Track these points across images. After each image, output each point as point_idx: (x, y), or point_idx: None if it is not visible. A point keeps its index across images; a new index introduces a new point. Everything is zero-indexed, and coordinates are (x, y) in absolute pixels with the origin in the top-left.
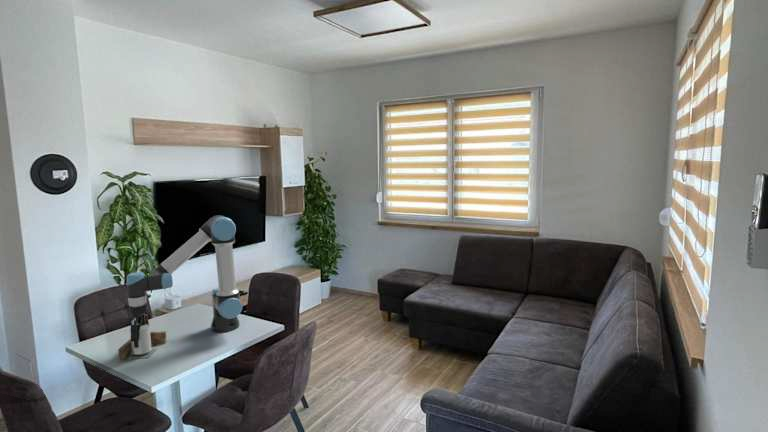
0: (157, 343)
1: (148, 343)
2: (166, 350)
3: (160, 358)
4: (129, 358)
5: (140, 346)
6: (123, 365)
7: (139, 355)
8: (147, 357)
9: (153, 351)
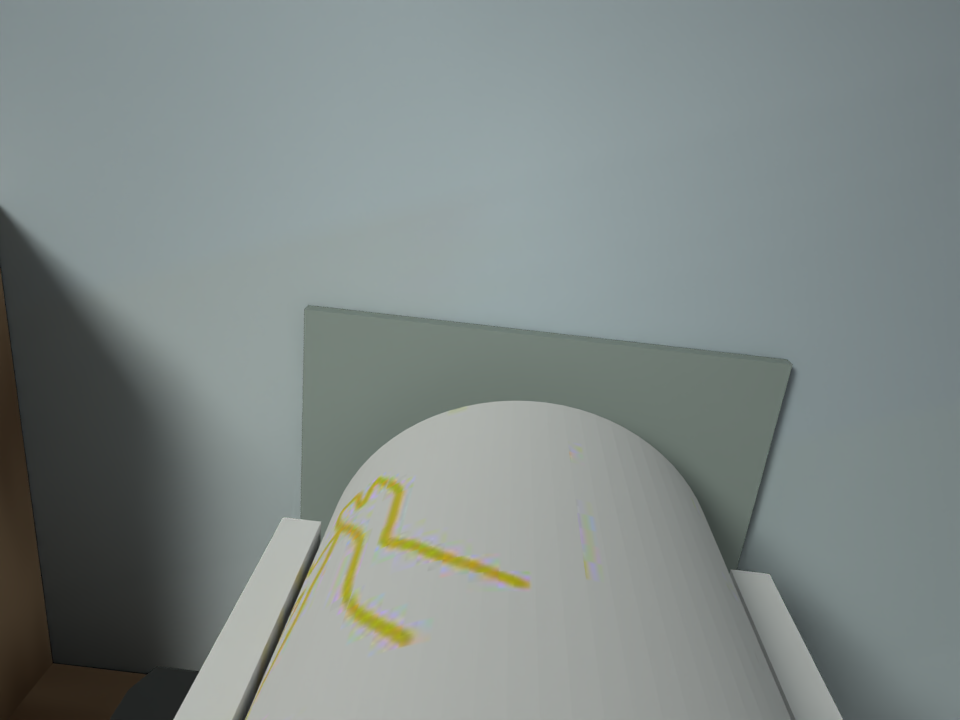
0: (4, 375)
1: (651, 551)
2: (446, 41)
3: (948, 65)
4: None
5: (805, 707)
6: (949, 710)
7: None
8: (783, 391)
9: (467, 346)
